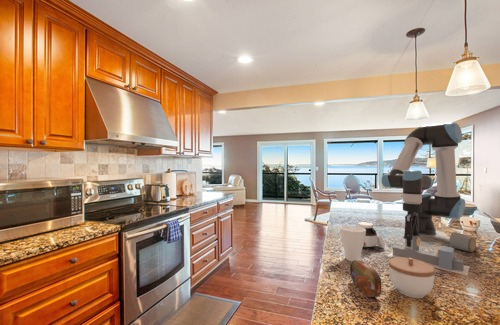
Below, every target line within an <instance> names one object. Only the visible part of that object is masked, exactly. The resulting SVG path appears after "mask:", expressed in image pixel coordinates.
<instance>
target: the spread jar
mask: <svg viewBox="0 0 500 325" xmlns="http://www.w3.org/2000/svg"><path fill="white" fill-rule="evenodd" d="M357 226H358V227H362V228H365V229H366V235H365V240H364V245H363V248H362V250H363V249H364V250H372V249H374V248H376V247H378V248H380V249H382V248H385V246H386V245H385V242H384V240H383V237H382V236H381V235H380V234H379V233H377V231H376V230H375V229H374V224H373V223H371V222H365V221H363V222H362V221H361V222H360V221H359V222H358V223H357Z"/></svg>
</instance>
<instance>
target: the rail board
mask: <svg viewBox="0 0 500 325" xmlns="http://www.w3.org/2000/svg"><path fill="white" fill-rule="evenodd" d="M388 257H390V258H395V257H405V258H413V259H416V260H420V261H423V262H426V263H428V264H430V265H431V266H433V267H434V269H439V270H443V271H448V272H452V273H456V274H458V275H459V274H460V275H463V276H468V274H469V271H470V268H471V266H470V265H469V266H468V265H466V264H465V265H464V260H463V259H460V258H455V257H454V258H453V260H452V271H451V270H447V269H443V268H439V257H438V253H437V254H436V253H431V252H427V251H423V250H419V251H418V250H413V249H408V248H405V247H403V246H400V245H399V246H398V245H393V246H392V251H390V253H389V254H387V255H386V258H388Z"/></svg>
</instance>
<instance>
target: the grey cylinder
mask: <svg viewBox="0 0 500 325" xmlns="http://www.w3.org/2000/svg"><path fill="white" fill-rule="evenodd" d="M449 247H451V248H454V249H457V250H460V251H464V252H468V253H472V252H474V251H475V250H476V248H477V241H476V239H475V238H474V237H472V236H470V235H467V234H464V233H460V232H455V231H454V232H452V233H451V234H450V236H449Z"/></svg>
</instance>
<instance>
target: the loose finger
mask: <svg viewBox="0 0 500 325" xmlns="http://www.w3.org/2000/svg"><path fill="white" fill-rule="evenodd" d="M412 240H413V250H418V251H420V244H421V237H420V236H418V237H417V236H413V237H412ZM404 245H405V247H404V248H406V239H405V241H404Z"/></svg>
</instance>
